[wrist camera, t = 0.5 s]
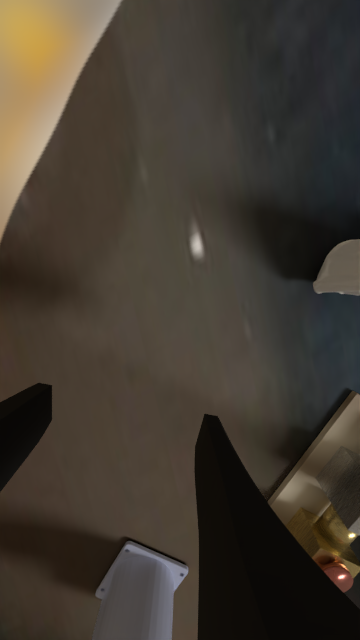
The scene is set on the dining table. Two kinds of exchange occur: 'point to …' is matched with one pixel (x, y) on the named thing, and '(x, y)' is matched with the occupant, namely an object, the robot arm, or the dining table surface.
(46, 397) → the robot arm
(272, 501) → the board
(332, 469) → the grey rectangular block
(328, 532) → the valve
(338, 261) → the salt and pepper shakers
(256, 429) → the dining table surface
